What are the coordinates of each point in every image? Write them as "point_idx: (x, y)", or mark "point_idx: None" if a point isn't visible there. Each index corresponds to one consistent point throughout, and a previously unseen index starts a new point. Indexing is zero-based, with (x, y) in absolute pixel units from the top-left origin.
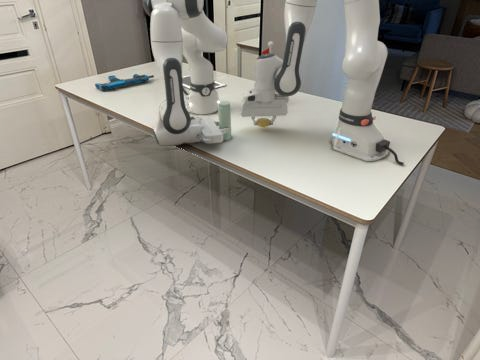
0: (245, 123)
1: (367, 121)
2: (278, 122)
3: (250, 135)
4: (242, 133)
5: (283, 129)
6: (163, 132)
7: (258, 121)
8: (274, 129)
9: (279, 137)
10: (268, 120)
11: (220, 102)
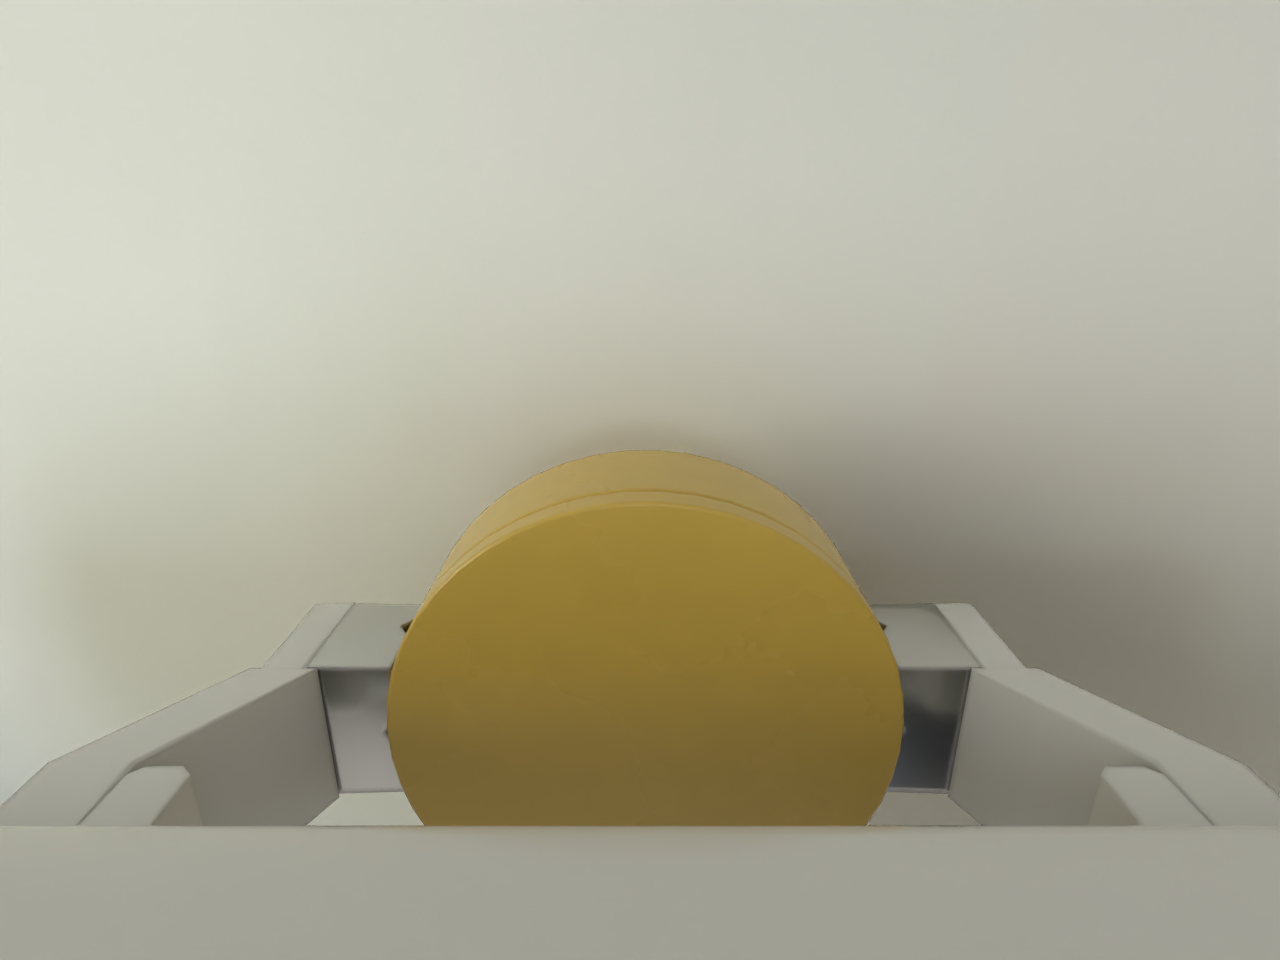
0: (103, 66)
1: None
2: (1250, 78)
3: (318, 816)
4: (122, 719)
5: (1171, 594)
6: None
7: (442, 800)
8: (940, 577)
9: None
10: (834, 750)
11: None
